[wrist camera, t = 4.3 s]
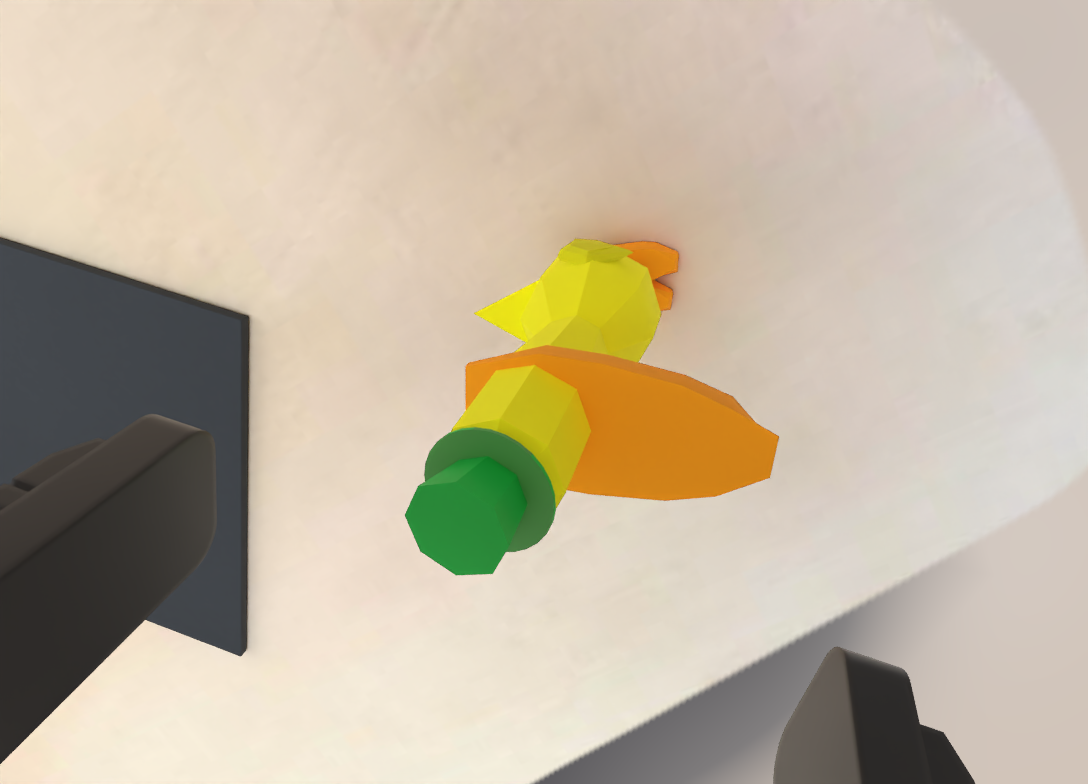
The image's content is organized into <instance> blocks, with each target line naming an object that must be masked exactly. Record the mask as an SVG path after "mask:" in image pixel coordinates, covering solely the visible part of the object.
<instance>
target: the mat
mask: <svg viewBox="0 0 1088 784" xmlns="http://www.w3.org/2000/svg"><path fill="white" fill-rule="evenodd" d="M148 414H157V415H160V416H163V417H166V418H169V419H172V420H175V421H178V422H181V423H184V424H187V425H190V426H193V427H196V428H198V429H201V430H204V431H207V432H209V433H210V434H211V435H212V437H213V439H214V442H215V450H216V504H217V526H216V532H215V535H214V539H213V541H212V544H211V546H210V548H209V550H208V552H207V554H206V556H205V557H204V559H203V561H202V562H201V563H200V565H199V566H198V567H197V568H196V569H195V570H194V571H193V572H192V573H191V574H190V575H189V576H188V577H187V578H186V579H185V580H184V581H183V582H182V583H181V584H180V585H179V586H178V587H177V588H176V589H175V590H174V591H173V592H172V593H171V594H170V595H169V596H168V597H167V598H166V599H165V600H164V601H163V602H162V603H161V604H160V605H159V606H158V607H157V608H156V609H155V610H154V611H153V612H152V613H151V614H150V615H149V616H148V617H147V618H146V619H145V620H147V621H150V622H153V623H155V624H158V625H160V626H163V627H166V628H168V629H171V630H173V631H176V632H179V633H181V634H184V635H186V636H189V637H192V638H194V639H197V640H199V641H202V642H205V643H207V644H210V645H212V646H215V647H218V648H220V649H223V650H225V651H228V652H231V653H233V654H236V655H238V656H242V655H243V653H244V652H245V651H246V601H247V441H248V316H245V315H242V314H238V313H235V312H232V311H229V310H226V309H223V308H220V307H216V306H213V305H210V304H207V303H204V302H201V301H198V300H194V299H191V298H188V297H185V296H182V295H179V294H176V293H172V292H169V291H166V290H163V289H160V288H157V287H154V286H150V285H147V284H144V283H141V282H138V281H135V280H132V279H128V278H125V277H122V276H119V275H116V274H113V273H110V272H106V271H103V270H100V269H97V268H94V267H91V266H88V265H84V264H81V263H78V262H75V261H72V260H69V259H66V258H62V257H59V256H56V255H53V254H50V253H47V252H44V251H40V250H37V249H34V248H31V247H28V246H25V245H22V244H18V243H15V242H12V241H9V240H6V239H3V238H0V486H1V485H2V484H4V483H5V484H8V485H9V484H10V483H11V482H12V478H14V477H15V476H17V475H18V474H20V473H21V472H23V471H25V470H26V469H28V468H29V467H31V466H33V465H34V464H36V463H37V462H39V461H40V460H42V459H44V458H45V457H47V456H48V455H50V454H52V453H55V452H58V451H61V450H64V449H67V448H70V447H73V446H76V445H78V444H81V443H84V442H87V441H90V440H93V439H96V438H101V439H104V440H107V439H109V438H110V437H112V436H113V435H115V434H116V433H118V432H119V431H121V430H122V429H124V428H125V427H127V426H128V425H130V424H131V423H133V422H134V421H136V420H137V419H139V418H141V417H143V416H145V415H148Z"/></svg>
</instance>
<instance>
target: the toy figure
mask: <svg viewBox="0 0 1088 784" xmlns="http://www.w3.org/2000/svg"><path fill="white" fill-rule="evenodd" d="M678 259H679V254H678V252H677V251H675V250H673V249H670V248H668V247H666V246H664V245H661V244H659V243H657V242H645V241H641V242H633V243H624V244H616V245H611V244H608V243H605V242H601V241H598V240H587V239H574V241H572V242H571V243H569V244H568V245H566V246H565V247H563V248H562V249H561V250H560V252H559V254H558V257H557V258H556V259H555V260H554V262H553V263H552V264H551V265H550V266H549V268H548V269H547V270H546V271H545V272H544V273H543V275H542V276H541V277H540V279H539V280H538V281H536V282H534V283H532V284H530V285H528V286H527V287H525V288H523V289H521V290H519V291H517V292H515V293H513V294H511V295H509V296H507V297H505V298H503V299H501V300H499V301H497V302H495V303H493V304H491V305H489V306H487V307H485V308H483V309H481V310H479V311H478V312H476V313H474V314H476V315H478V316H479V317H481V318H483V319H485V320H487V321H488V322H490V323H492V324H494V325H496V326H497V327H499V328H501V329H503V330H505V331H506V332H508V333H510V334H512V335H514V336H515V337H517V338H519V339H521V340H523V341H524V342H526V343H525V344H524V345H522V346H521V347H520V348H519V349H518V350H516V351H515V352H514V353H509V354H505V355H501V356H496V357H492V358H487V359H483V360H478V361H474V362H470V363H468V364H467V365H466V411H465V412H464V414H463V415H462V416H461V418H460V419H459V420H458V422H457V423H456V424H455V426H454V427H453V429H452V431H451V432H450V433H448V434H447V435H445V436H444V437H443V438H441V439H440V440H439V441H438V442H437V443H436V444H435V445H434V447H433V448H432V449H431V451H430V452H429V455H428V458H427V460H426V464H425V474H424V476H425V482H424V483H422V484H421V485H419V486H418V488H417V490H416V492H415V494H414V496H413V499H412V501H411V503H410V505H409V507H408V509H407V511H406V514H405V517H406V519H407V521H408V524H409V526H410V528H411V531H412V533H413V535H414V537H415V540H416V542H417V544H418V547H419V549H420V551H421V552H422V553H424V554H425V555H427V556H428V557H430V558H431V559H433V560H434V561H436V562H437V563H439V564H440V565H442V566H443V567H445V568H446V569H448V570H449V571H450V572H452V573H453V574H455V575H475V574H493V572H494V571H495V569H496V567H497V566H498V564H499V562H500V561H501V559H502V557H503V556H504V554H505V552H516V551H520V550H524V549H527V548H529V547H531V546H533V545H535V544H537V543H538V542H539V541H540V540H541V539H542V538H543V537H544V536H545V535H546V534H547V532H548V530H549V528H550V527H551V525H552V523H553V520H554V516H555V511H556V508H557V506H558V504H559V503H560V501H561V499H562V498H563V496H564V494H565V493H566V490H570V491H575V492H581V493H586V494H594V495H605V496H617V497H629V498H640V499H652V500H664V501H667V500H679V499H691V498H703V497H715V496H718V495H721V494H724V493H727V492H730V491H733V490H736V489H739V488H742V487H744V486H747V485H750V484H753V483H756V482H759V481H762V480H765V479H768V478H770V475H771V470H772V466H773V461H774V457H775V453H776V448H777V444H778V439H779V436H777V435H776V434H774V433H772V432H770V431H769V430H767V429H765V428H763V427H762V426H760V425H758V424H757V423H756V422H755V421H754V420H753V419H752V418H751V417H750V416H749V414H748V413H747V412H746V411H745V410H744V409H743V408H742V406H741V405H740V404H739V403H738V402H737V401H736V400H735V398H734V397H733V396H730V395H728V394H726V393H724V392H721V391H719V390H717V389H715V388H713V387H710V386H708V385H706V384H704V383H702V382H699V381H697V380H695V379H693V378H691V377H688V376H686V375H683V374H679V373H676V372H672V371H668V370H664V369H660V368H657V367H653V366H649V365H645V364H641V363H638V362H639V360H640V358H641V357H642V355H643V354H644V352H645V350H646V349H647V347H648V345H649V344H650V342H651V341H652V339H653V336H654V334H655V331H656V328H657V325H658V322H659V319H660V317H661V311H663V310H670V309H671V304H672V298H673V291H672V289H670V288H668V287H666V286H665V285H663V284H661V283H659V282H657V281H655V279H657V278H659V277H661V276H663V275H667V274H671V273H675V272H678Z"/></svg>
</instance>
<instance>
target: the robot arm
mask: <svg viewBox="0 0 1088 784" xmlns="http://www.w3.org/2000/svg"><path fill="white" fill-rule="evenodd" d="M216 526H217V504H216V450H215V442H214V439H213V437H212V435H211V434H210V433H209V432H207V431H204V430H201V429H198V428H196V427H193V426H190V425H187V424H184V423H181V422H178V421H175V420H172V419H169V418H166V417H163V416H160V415H157V414H148V415H145V416H143V417H141V418H139V419H137V420H136V421H134V422H133V423H131V424H130V425H128V426H127V427H125V428H124V429H122V430H121V431H119V432H118V433H116V434H115V435H113V436H112V437H110V438H109V439H107V440H104V439H101V438H96V439H93V440H90V441H87V442H84V443H81V444H78V445H76V446H73V447H70V448H67V449H64V450H61V451H58V452H55V453H52V454H50V455H48V456H47V457H45V458H44V459H42V460H40V461H39V462H37V463H36V464H34V465H33V466H31V467H29V468H28V469H26V470H25V471H23V472H21V473H20V474H18V475H17V476H15V477H14V478H12V482H11V483H10V484H9V485H8V484H5V483H4V484H2V485H1V486H0V764H1V763H2V762H3V761H4V760H5V759H6V758H7V757H8V756H9V755H10V754H11V753H12V752H13V751H14V750H15V749H16V748H17V747H18V746H19V745H20V744H21V743H22V742H23V741H24V740H25V739H26V738H27V737H28V736H29V735H30V734H31V733H32V732H33V731H34V730H35V729H36V728H37V727H38V726H39V725H40V724H41V723H42V722H43V721H44V720H45V719H46V718H47V717H48V716H49V715H50V714H51V713H52V712H53V711H54V710H55V709H56V708H57V707H58V706H59V705H60V704H61V703H62V702H63V701H64V700H65V699H66V698H67V697H68V696H69V695H70V694H71V693H72V692H73V691H74V690H75V689H76V688H77V687H78V686H79V685H80V684H81V683H82V682H83V681H84V680H85V679H86V678H87V677H88V676H89V675H90V674H91V673H92V672H93V671H94V670H95V669H96V668H97V667H98V666H99V665H100V664H101V663H102V662H103V661H104V660H105V659H106V658H107V657H108V656H109V655H110V654H111V653H112V652H113V651H114V650H115V649H116V648H117V647H118V646H119V645H120V644H121V643H122V642H123V641H124V640H125V639H126V638H127V637H128V636H129V635H130V634H131V633H132V632H133V631H134V630H135V629H136V628H137V627H138V626H139V625H140V624H141V623H142V622H143V621H144V620H145V619H146V618H147V617H148V616H149V615H150V614H151V613H152V612H153V611H154V610H155V609H156V608H157V607H158V606H159V605H160V604H161V603H162V602H163V601H164V600H165V599H166V598H167V597H168V596H169V595H170V594H171V593H172V592H173V591H174V590H175V589H176V588H177V587H178V586H179V585H180V584H181V583H182V582H183V581H184V580H185V579H186V578H187V577H188V576H189V575H190V574H191V573H192V572H193V571H194V570H195V569H196V568H197V567H198V566H199V565H200V563H201V562H202V561H203V559H204V557H205V556H206V554H207V552H208V550H209V548H210V546H211V544H212V541H213V539H214V535H215V532H216ZM773 779H774V780H773V781H774V782H773V784H975V782H974V780H973V778H972V777H971V775H970V774H969V772H968V770H967V769H966V767H965V766H964V764H963V763H962V761H961V759H960V758H959V756H958V755H957V753H956V751H955V750H954V748H953V747H952V745H951V743H950V742H949V740H948V739H947V737H946V736H945V734H944V732H941V731H938V730H935V729H932V728H929V727H927V726H924V725H920V723H919V719H918V715H917V710H916V705H915V701H914V696H913V692H912V687H911V683H910V679H909V677H908V675H907V673H906V672H905V670H903V669H902V668H899V667H896V666H893V665H891V664H888V663H885V662H882V661H879V660H876V659H873V658H870V657H867V656H864V655H861V654H858V653H855V652H852V651H849V650H846V649H843V648H840V647H834V648H833V649H832V650H830V652H829V653H828V654H827V655H826V657H825V659H824V660H823V662H822V664H821V666H820V667H819V669H818V671H817V673H816V674H815V676H814V678H813V680H812V681H811V683H810V685H809V687H808V688H807V690H806V692H805V694H804V695H803V697H802V699H801V701H800V702H799V704H798V706H797V708H796V709H795V711H794V713H793V715H792V716H791V718H790V720H789V722H788V723H787V725H786V727H785V729H784V732H783V734H782V737H781V740H780V743H779V746H778V751H777V755H776V761H775V768H774V777H773Z"/></svg>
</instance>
